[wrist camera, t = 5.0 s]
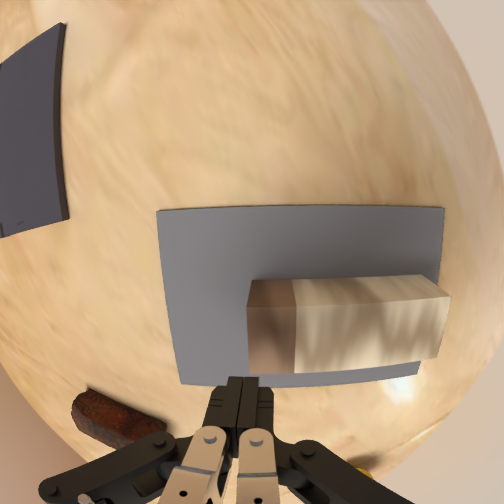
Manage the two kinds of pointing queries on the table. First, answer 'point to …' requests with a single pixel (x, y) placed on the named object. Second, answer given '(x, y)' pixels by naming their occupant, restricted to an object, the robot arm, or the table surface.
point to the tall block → (343, 323)
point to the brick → (111, 420)
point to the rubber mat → (279, 274)
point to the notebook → (32, 136)
